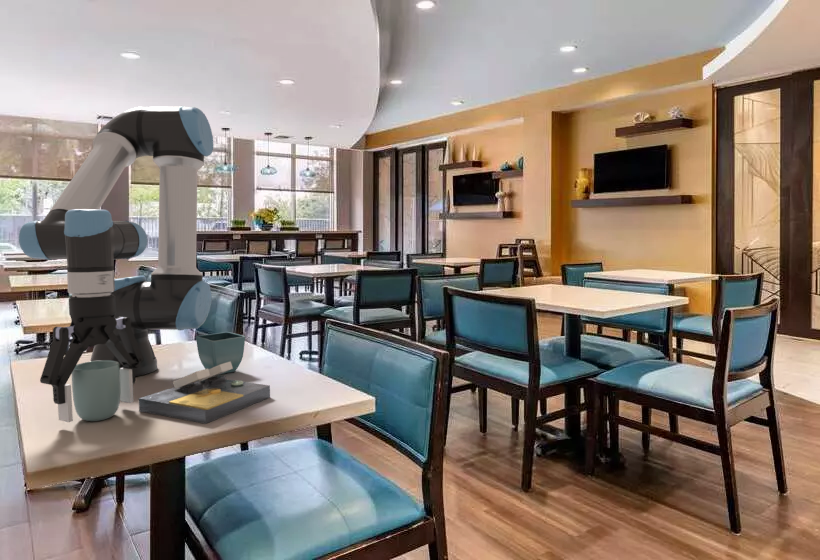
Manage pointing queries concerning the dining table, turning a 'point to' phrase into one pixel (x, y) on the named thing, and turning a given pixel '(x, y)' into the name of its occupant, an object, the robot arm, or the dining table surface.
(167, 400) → the panel
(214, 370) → the rocker
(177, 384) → the rocker
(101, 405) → the cup
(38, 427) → the dining table surface
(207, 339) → the flower pot
